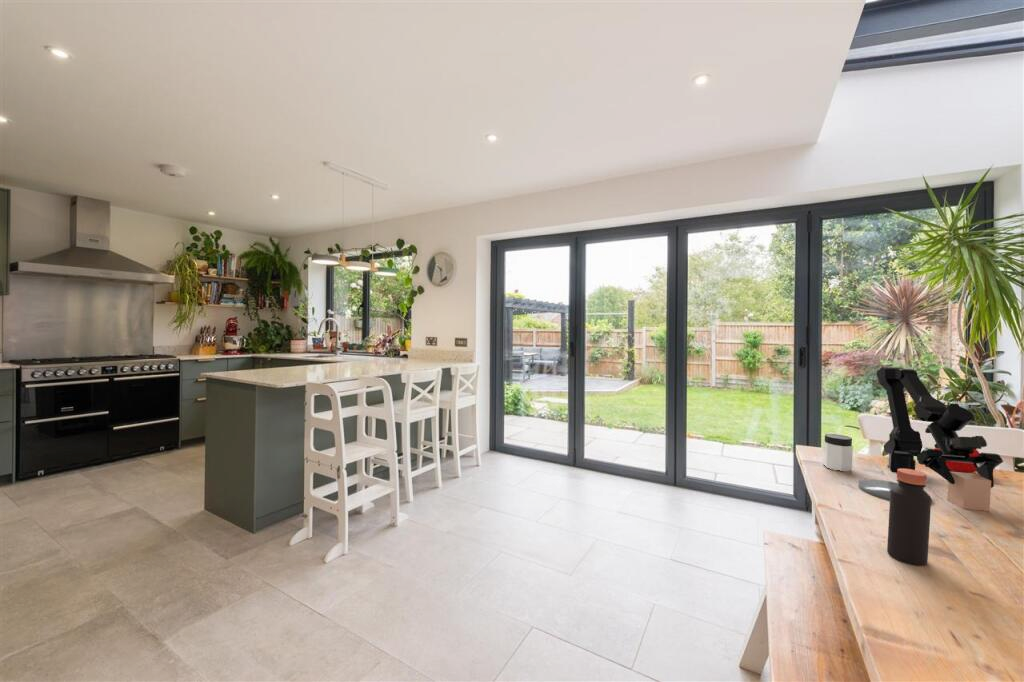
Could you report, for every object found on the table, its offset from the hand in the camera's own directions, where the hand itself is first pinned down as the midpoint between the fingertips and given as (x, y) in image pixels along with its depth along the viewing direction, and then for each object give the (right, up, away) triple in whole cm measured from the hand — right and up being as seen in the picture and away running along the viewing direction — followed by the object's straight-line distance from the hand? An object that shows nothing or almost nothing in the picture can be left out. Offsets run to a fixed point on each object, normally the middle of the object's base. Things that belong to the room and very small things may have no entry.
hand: (972, 485), depth 124 cm
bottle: (-46, -7, -28) cm, 54 cm away
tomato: (+30, -6, +33) cm, 45 cm away
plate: (-14, -6, +10) cm, 19 cm away
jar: (-14, -5, +34) cm, 37 cm away
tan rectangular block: (0, -7, +2) cm, 7 cm away
